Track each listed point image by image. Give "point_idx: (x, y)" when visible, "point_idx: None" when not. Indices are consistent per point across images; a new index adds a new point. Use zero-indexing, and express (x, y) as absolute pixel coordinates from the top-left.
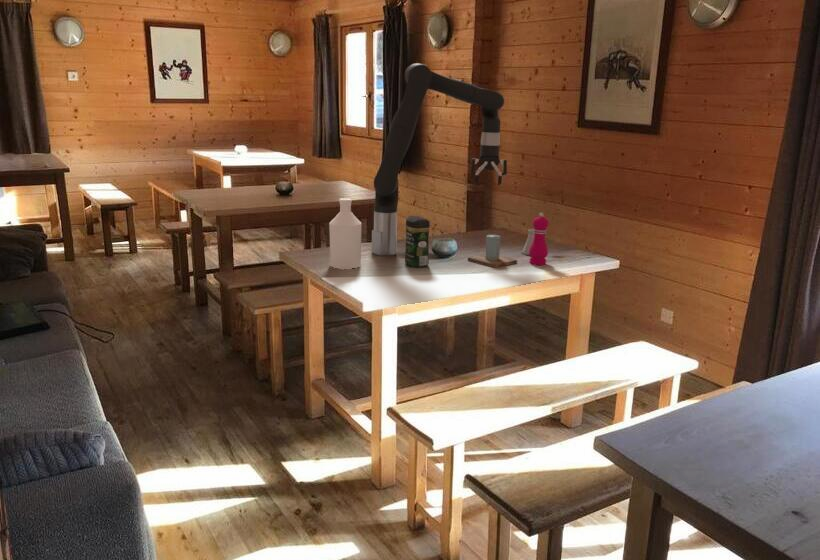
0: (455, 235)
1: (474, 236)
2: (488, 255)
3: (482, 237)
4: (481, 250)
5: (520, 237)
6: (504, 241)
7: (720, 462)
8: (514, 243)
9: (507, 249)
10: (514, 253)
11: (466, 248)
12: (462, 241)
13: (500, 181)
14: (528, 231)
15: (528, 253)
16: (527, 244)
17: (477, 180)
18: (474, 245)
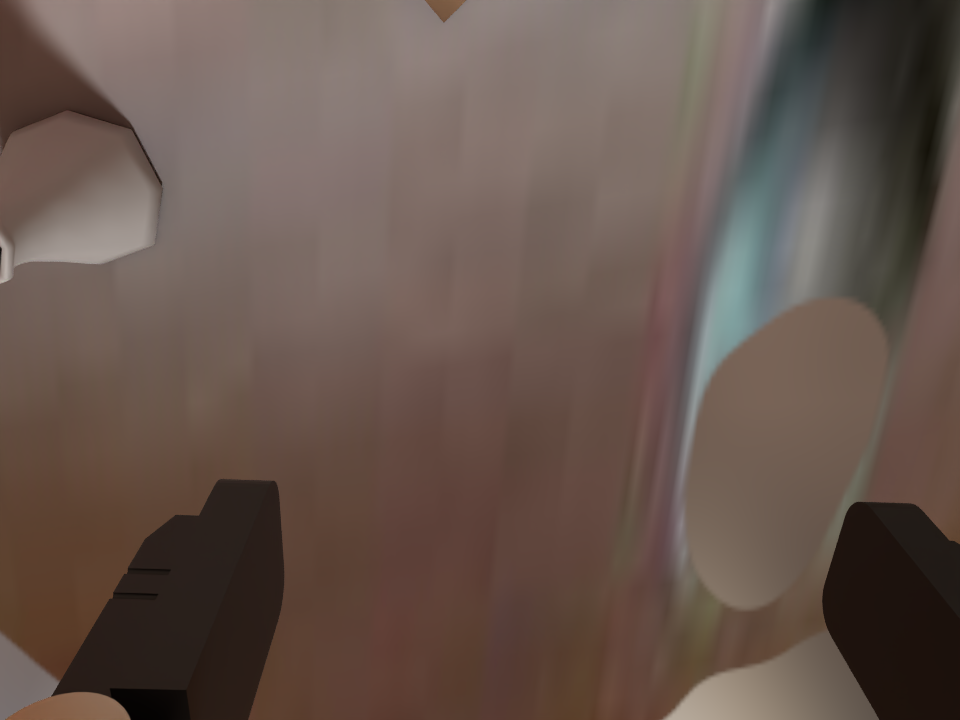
0: (651, 694)
1: (520, 686)
2: None
3: (465, 667)
4: (508, 252)
5: None
6: (309, 577)
7: None
8: None
9: (287, 321)
10: (226, 177)
11: (627, 307)
12: (627, 534)
13: (161, 572)
14: (11, 239)
15: (92, 124)
16: (75, 172)
17: (953, 569)
18: (549, 421)
